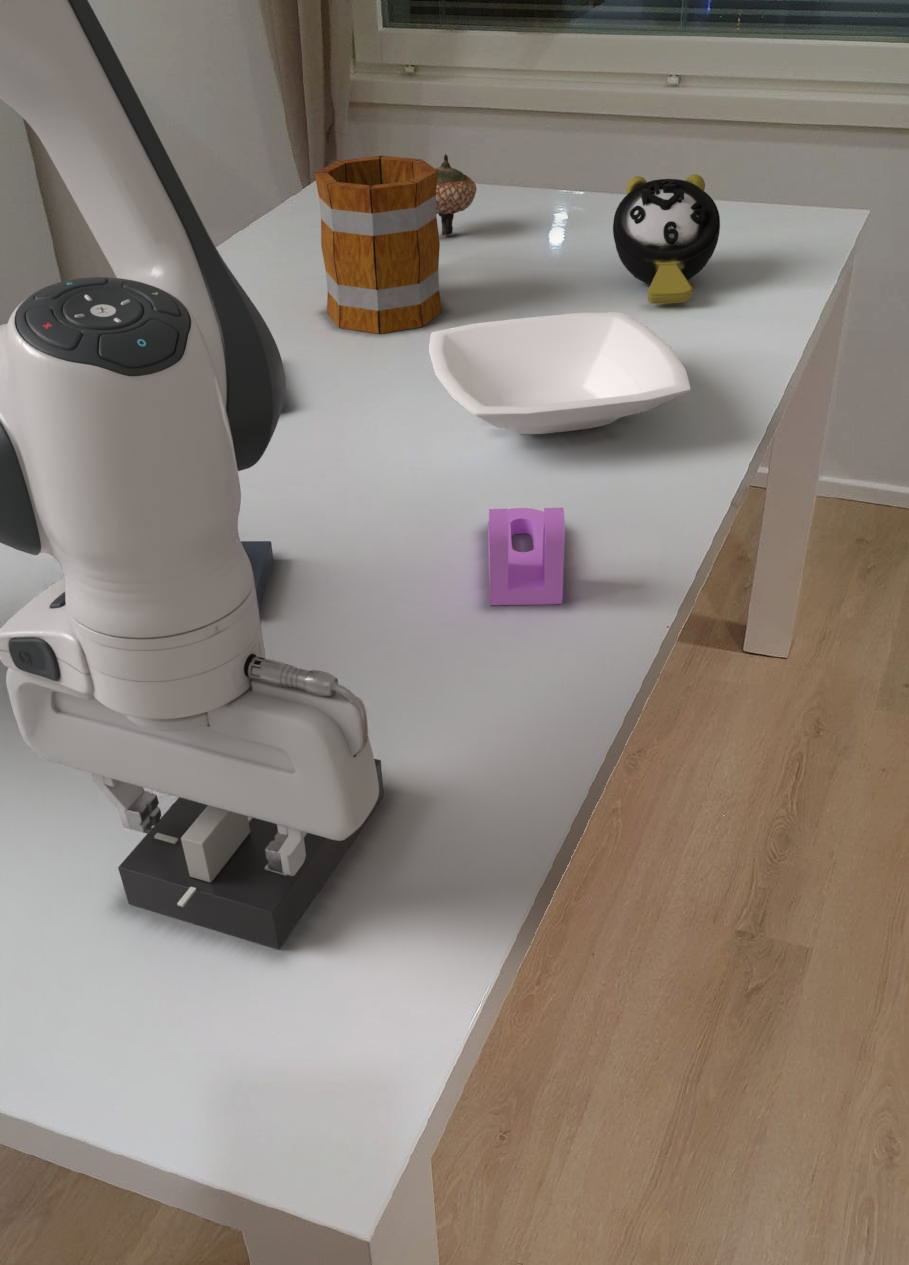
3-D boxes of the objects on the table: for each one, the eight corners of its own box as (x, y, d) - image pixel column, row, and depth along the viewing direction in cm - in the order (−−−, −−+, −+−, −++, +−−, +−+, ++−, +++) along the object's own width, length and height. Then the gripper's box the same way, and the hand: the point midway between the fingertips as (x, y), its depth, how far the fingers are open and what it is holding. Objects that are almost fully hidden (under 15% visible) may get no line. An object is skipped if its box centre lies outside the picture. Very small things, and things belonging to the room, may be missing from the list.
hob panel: (267, 967, 67) (260, 928, 65) (115, 920, 70) (103, 881, 68) (384, 796, 78) (381, 757, 75) (247, 761, 80) (240, 723, 78)
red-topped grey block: (211, 883, 68) (201, 841, 66) (189, 877, 68) (179, 834, 66) (250, 832, 71) (243, 789, 69) (230, 826, 71) (221, 784, 69)
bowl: (415, 384, 126) (413, 328, 122) (630, 360, 129) (634, 305, 126) (461, 480, 110) (459, 420, 106) (705, 451, 113) (712, 391, 109)
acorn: (421, 249, 159) (418, 165, 153) (410, 230, 165) (406, 148, 159) (483, 243, 160) (482, 159, 154) (469, 224, 166) (468, 143, 160)
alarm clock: (601, 327, 147) (570, 194, 142) (682, 301, 154) (655, 173, 149) (672, 306, 138) (642, 163, 132) (754, 279, 145) (729, 143, 140)
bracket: (562, 604, 94) (565, 522, 89) (490, 605, 94) (489, 524, 89) (553, 522, 104) (555, 444, 99) (487, 523, 104) (487, 446, 99)
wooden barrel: (439, 333, 137) (434, 188, 127) (320, 334, 137) (305, 190, 127) (447, 274, 151) (443, 140, 141) (339, 276, 152) (328, 142, 142)
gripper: (390, 647, 59) (404, 854, 68) (42, 570, 65) (98, 770, 74) (331, 722, 54) (354, 932, 63) (-36, 632, 60) (33, 836, 70)
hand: (214, 844), depth 69 cm, fingers open, 8 cm apart
